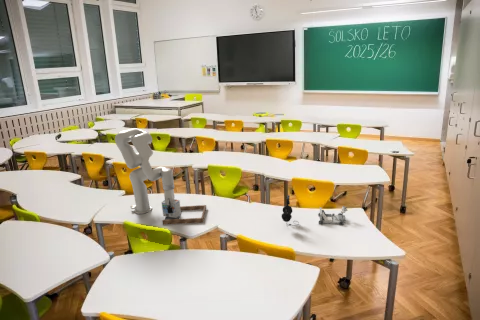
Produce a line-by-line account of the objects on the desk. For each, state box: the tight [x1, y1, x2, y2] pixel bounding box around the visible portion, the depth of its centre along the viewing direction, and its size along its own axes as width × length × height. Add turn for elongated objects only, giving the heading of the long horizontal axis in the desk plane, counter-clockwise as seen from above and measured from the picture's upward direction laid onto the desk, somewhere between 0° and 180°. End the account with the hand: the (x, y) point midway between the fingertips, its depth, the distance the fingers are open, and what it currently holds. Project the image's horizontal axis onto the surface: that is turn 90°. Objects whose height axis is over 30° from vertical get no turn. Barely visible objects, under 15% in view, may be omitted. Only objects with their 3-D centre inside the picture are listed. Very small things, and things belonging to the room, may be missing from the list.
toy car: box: [317, 205, 348, 226], centre depth 214 cm, size 18×10×12 cm
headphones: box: [281, 194, 301, 228], centre depth 209 cm, size 15×11×20 cm
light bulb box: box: [161, 198, 182, 218], centre depth 232 cm, size 11×7×11 cm, turn 71°
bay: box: [161, 204, 207, 225], centre depth 233 cm, size 28×21×3 cm
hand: (171, 210), depth 232 cm, fingers closed on light bulb box, 8 cm apart
